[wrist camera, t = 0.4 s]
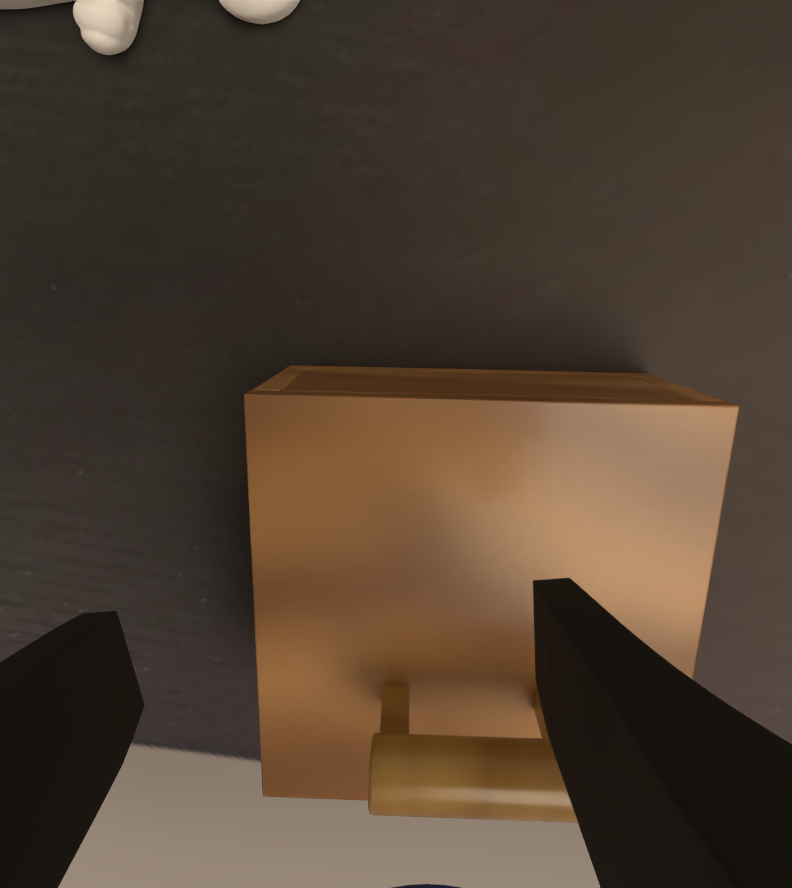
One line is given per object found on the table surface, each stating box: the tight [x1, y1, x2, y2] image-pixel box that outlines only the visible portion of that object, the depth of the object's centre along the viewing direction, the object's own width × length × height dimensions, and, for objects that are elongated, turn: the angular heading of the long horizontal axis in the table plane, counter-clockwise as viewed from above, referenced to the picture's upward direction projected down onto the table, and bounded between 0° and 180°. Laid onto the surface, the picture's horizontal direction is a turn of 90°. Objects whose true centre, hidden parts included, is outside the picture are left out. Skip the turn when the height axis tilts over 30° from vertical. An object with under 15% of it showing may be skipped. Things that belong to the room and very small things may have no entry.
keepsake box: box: [253, 365, 722, 401], centre depth 18 cm, size 11×11×5 cm
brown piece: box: [244, 390, 739, 823], centre depth 14 cm, size 12×11×4 cm
